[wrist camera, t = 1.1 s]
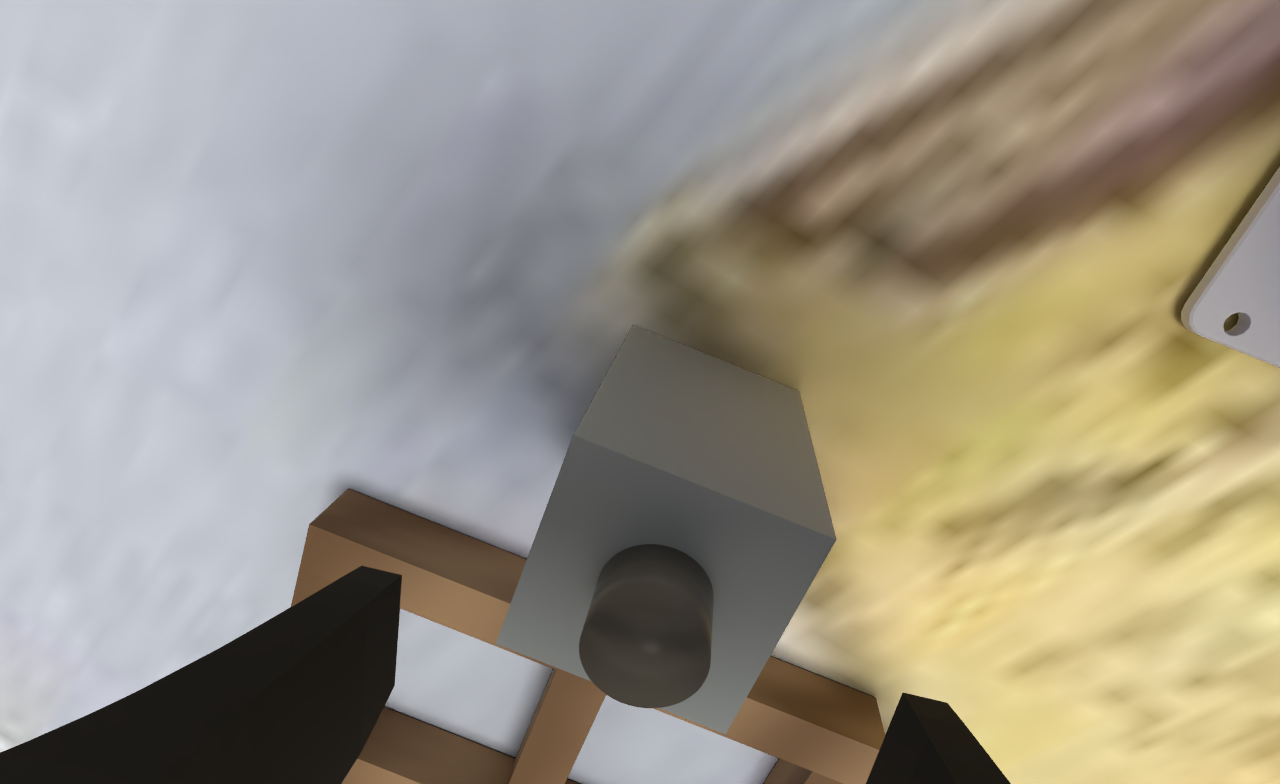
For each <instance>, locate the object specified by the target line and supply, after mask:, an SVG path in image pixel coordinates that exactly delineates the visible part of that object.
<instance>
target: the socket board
mask: <svg viewBox="0 0 1280 784" xmlns="http://www.w3.org/2000/svg"><path fill="white" fill-rule="evenodd" d="M526 561H527V559H524V558H522V557H519V556H517V555H514V554H511V553H509V552H506V551H504V550H501V549H499V548H496V547H494V546H491V545H489V544H486V543H484V542H481V541H479V540H476V539H474V538H471V537H469V536H466V535H464V534H461V533H459V532H456V531H454V530H451V529H449V528H446V527H443V526H441V525H438V524H436V523H433V522H431V521H428V520H426V519H423V518H421V517H418V516H416V515H413V514H411V513H408V512H406V511H403V510H401V509H398V508H396V507H393V506H391V505H388V504H386V503H383V502H380V501H378V500H375V499H373V498H370V497H368V496H365V495H363V494H360V493H358V492H355V491H353V490H350V489H348V490H347V491H345V492H344V493H343V494H342V495H341V496H340V497H339V498H338V499H337V500H336V501H334V502H333V503H332V504H331V505H330V506H329V507H328V508H327V509H326V510H325V511H323V512H322V513H321V514H320V515H319V516H318V517H317V518H316V519H315V520H314V521H312V522H311V523H310V524H309V528H308V533H307V537H306V542H305V546H304V551H303V555H302V560H301V564H300V569H299V573H298V578H297V582H296V587H295V591H294V595H293V600H292V604H291V607H292V606H294V605H295V604H297V603H299V602H300V601H302V600H304V599H306V598H307V597H309V596H311V595H312V594H314V593H316V592H317V591H319V590H321V589H322V588H324V587H326V586H327V585H329V584H331V583H333V582H334V581H336V580H338V579H339V578H341V577H343V576H344V575H346V574H348V573H350V572H351V571H353V570H355V569H357V568H358V567H360V566H366V567H370V568H374V569H379V570H383V571H387V572H391V573H396V574H400V575H402V584H401V598H400V608H401V609H404V610H406V611H409V612H411V613H414V614H416V615H419V616H421V617H424V618H426V619H429V620H431V621H434V622H436V623H439V624H441V625H444V626H446V627H449V628H452V629H454V630H457V631H459V632H462V633H464V634H467V635H469V636H472V637H474V638H477V639H479V640H482V641H484V642H487V643H489V644H492V645H494V646H497V647H500V648H502V649H505V650H507V651H510V652H512V653H515V654H517V655H520V656H522V657H525V658H527V659H530V660H532V661H535V662H537V663H540V664H542V665H545V666H548V667H550V668H553V671H552V673H551V676H550V678H549V681H548V683H547V685H546V688H545V690H544V692H543V695H542V697H541V700H540V702H539V704H538V707H537V709H536V712H535V714H534V716H533V719H532V721H531V723H530V726H529V728H528V731H527V733H526V735H525V738H524V740H523V742H522V745H521V747H520V750H519V752H518V754H517V757H516V759H515V758H512V757H510V756H507V755H505V754H502V753H500V752H497V751H495V750H492V749H489V748H487V747H484V746H482V745H479V744H477V743H474V742H472V741H469V740H467V739H464V738H462V737H459V736H457V735H454V734H451V733H449V732H446V731H444V730H441V729H439V728H436V727H434V726H431V725H429V724H426V723H424V722H421V721H419V720H416V719H413V718H411V717H408V716H406V715H403V714H401V713H398V712H396V711H393V710H391V709H388V708H386V707H384V708H383V710H382V712H381V714H380V716H379V718H378V720H377V722H376V724H375V726H374V728H373V730H372V732H371V734H370V736H369V738H368V740H367V742H366V744H365V746H364V748H363V750H362V752H361V754H360V755H359V757H358V758H357V760H356V761H355V763H354V765H353V766H352V768H351V769H350V771H349V773H348V774H347V776H346V777H345V779H344V780H343V782H342V783H341V784H578V783H576V782H573V781H571V780H568V779H567V778H568V775H569V773H570V771H571V769H572V767H573V765H574V763H575V760H576V758H577V756H578V754H579V752H580V750H581V748H582V745H583V743H584V741H585V739H586V737H587V735H588V733H589V730H590V728H591V726H592V724H593V722H594V720H595V717H596V715H597V713H598V711H599V709H600V707H601V705H602V702H603V700H604V698H605V696H606V694H605V693H604V692H602V691H601V690H600V689H599V688H598V687H597V686H596V685H594V683H593V682H592V681H589V680H586V679H584V678H581V677H579V676H576V675H574V674H571V673H569V672H566V671H564V670H561V669H559V668H556V667H554V666H551V665H548V664H546V663H543V662H541V661H538V660H536V659H533V658H531V657H528V656H526V655H523V654H521V653H518V652H515V651H513V650H510V649H508V648H505V647H503V646H500V645H498V644H496V641H497V639H498V636H499V633H500V631H501V628H502V625H503V623H504V620H505V617H506V614H507V612H508V609H509V606H510V604H511V601H512V598H513V596H514V593H515V590H516V588H517V585H518V582H519V580H520V577H521V574H522V571H523V569H524V566H525V563H526ZM654 709H656V710H659V711H661V712H664V713H666V714H669V715H671V716H674V717H676V718H679V719H681V720H684V721H686V722H689V723H691V724H694V725H697V726H699V727H702V728H704V729H707V730H709V731H712V732H714V733H717V734H719V735H722V736H724V737H727V738H729V739H732V740H734V741H737V742H739V743H742V744H745V745H747V746H750V747H752V748H755V749H757V750H760V751H762V752H765V753H767V754H770V755H772V756H775V757H777V758H779V759H778V761H777V763H776V764H775V766H774V767H773V769H772V771H771V772H770V774H769V776H768V777H767V779H766V780H765V782H764V784H866V782H867V779H868V777H869V775H870V772H871V770H872V767H873V765H874V762H875V760H876V757H877V755H878V752H879V750H880V747H881V745H882V743H883V740H884V738H885V733H884V729H883V725H882V721H881V717H880V713H879V709H878V705H877V700H876V698H874V697H872V696H869V695H867V694H864V693H862V692H859V691H857V690H854V689H852V688H849V687H847V686H844V685H842V684H839V683H836V682H834V681H831V680H829V679H826V678H824V677H821V676H819V675H816V674H814V673H811V672H809V671H806V670H804V669H801V668H799V667H796V666H794V665H791V664H789V663H786V662H784V661H781V660H779V659H776V658H774V657H771V656H770V657H769V659H768V660H767V662H766V664H765V666H764V667H763V669H762V671H761V673H760V675H759V676H758V678H757V680H756V682H755V683H754V685H753V687H752V689H751V690H750V692H749V694H748V696H747V697H746V699H745V701H744V703H743V704H742V706H741V708H740V710H739V711H738V713H737V715H736V717H735V718H734V720H733V722H732V724H731V726H730V727H729V729H728V731H727V733H726V734H723V733H721V732H718V731H716V730H713V729H711V728H708V727H706V726H703V725H701V724H698V723H695V722H693V721H690V720H688V719H685V718H683V717H680V716H678V715H675V714H673V713H670V712H668V711H665V710H662V709H660V708H654Z"/></svg>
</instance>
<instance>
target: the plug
mask: <svg viewBox="0 0 1280 784" xmlns="http://www.w3.org/2000/svg"><path fill="white" fill-rule="evenodd" d="M835 541H836V536H835V532H834V528H833V524H832V520H831V516H830V512H829V508H828V504H827V500H826V496H825V492H824V488H823V484H822V480H821V476H820V472H819V468H818V464H817V460H816V456H815V452H814V448H813V444H812V440H811V436H810V432H809V428H808V424H807V420H806V416H805V412H804V408H803V404H802V400H801V396H800V392H799V391H798V390H795V389H793V388H790V387H788V386H785V385H783V384H780V383H778V382H775V381H773V380H770V379H768V378H765V377H763V376H760V375H758V374H755V373H753V372H750V371H748V370H745V369H743V368H740V367H738V366H735V365H733V364H730V363H728V362H725V361H723V360H720V359H718V358H715V357H713V356H710V355H708V354H705V353H703V352H700V351H698V350H695V349H693V348H690V347H688V346H685V345H683V344H680V343H678V342H675V341H673V340H670V339H668V338H665V337H663V336H660V335H658V334H655V333H653V332H650V331H648V330H645V329H643V328H640V327H638V326H635V325H633V326H632V328H631V330H630V331H629V333H628V335H627V337H626V339H625V341H624V343H623V344H622V346H621V348H620V350H619V352H618V354H617V355H616V357H615V359H614V361H613V363H612V365H611V366H610V368H609V370H608V372H607V374H606V376H605V378H604V379H603V381H602V383H601V385H600V387H599V389H598V390H597V392H596V394H595V396H594V398H593V400H592V401H591V403H590V405H589V407H588V409H587V411H586V413H585V414H584V416H583V418H582V420H581V422H580V424H579V425H578V427H577V429H576V431H575V433H574V435H573V437H572V440H571V443H570V445H569V448H568V451H567V453H566V456H565V459H564V461H563V464H562V467H561V469H560V472H559V475H558V477H557V480H556V483H555V486H554V488H553V491H552V494H551V496H550V499H549V502H548V504H547V507H546V510H545V512H544V515H543V518H542V520H541V523H540V526H539V529H538V531H537V534H536V537H535V539H534V542H533V545H532V547H531V550H530V553H529V555H528V558H527V561H526V563H525V566H524V569H523V571H522V574H521V577H520V580H519V582H518V585H517V588H516V590H515V593H514V596H513V598H512V601H511V604H510V606H509V609H508V612H507V614H506V617H505V620H504V623H503V625H502V628H501V631H500V633H499V636H498V639H497V641H496V644H498V645H500V646H503V647H505V648H508V649H510V650H513V651H515V652H518V653H521V654H523V655H526V656H528V657H531V658H533V659H536V660H538V661H541V662H543V663H546V664H548V665H551V666H554V667H556V668H559V669H561V670H564V671H566V672H569V673H571V674H574V675H576V676H579V677H581V678H584V679H586V680H589V681H592V682H593V683H594V685H596V686H597V687H598V688H599V689H600V690H601V691H602V692H604V693H605V694H606V695H608V696H610V697H611V698H613V699H615V700H617V701H619V702H622V703H625V704H628V705H631V706H636V707H642V708H660V709H662V710H665V711H668V712H670V713H673V714H675V715H678V716H680V717H683V718H685V719H688V720H690V721H693V722H695V723H698V724H701V725H703V726H706V727H708V728H711V729H713V730H716V731H718V732H721V733H723V734H726V733H727V731H728V729H729V727H730V726H731V724H732V722H733V720H734V718H735V717H736V715H737V713H738V711H739V710H740V708H741V706H742V704H743V703H744V701H745V699H746V697H747V696H748V694H749V692H750V690H751V689H752V687H753V685H754V683H755V682H756V680H757V678H758V676H759V675H760V673H761V671H762V669H763V667H764V666H765V664H766V662H767V660H768V659H769V657H770V655H771V653H772V652H773V650H774V648H775V646H776V645H777V643H778V641H779V639H780V638H781V636H782V634H783V632H784V631H785V629H786V627H787V625H788V624H789V622H790V620H791V618H792V617H793V615H794V613H795V611H796V609H797V608H798V606H799V604H800V602H801V601H802V599H803V597H804V595H805V594H806V592H807V590H808V588H809V587H810V585H811V583H812V581H813V580H814V578H815V576H816V574H817V573H818V571H819V569H820V567H821V566H822V564H823V562H824V560H825V558H826V557H827V555H828V553H829V551H830V550H831V548H832V546H833V544H834V543H835Z"/></svg>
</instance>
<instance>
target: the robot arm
mask: <svg viewBox="0 0 1280 784" xmlns="http://www.w3.org/2000/svg"><path fill="white" fill-rule="evenodd" d="M1235 313H1238V316H1239V319H1238V322H1237V324H1236V325H1235V326H1234V327H1233V328H1232V329H1230V330H1227V331H1224V327H1223V325H1224V323H1225V320H1226V319H1227V318H1228V317H1229V316H1230V315H1232V314H1235ZM1181 321H1182V323H1183V325H1184V327H1185V328H1186V329H1188V330H1189V331H1191V332H1192V333H1195V334H1197V335H1199V336H1202V337H1204V338H1207V339H1209V340H1212V341H1214V342H1217V343H1219V344H1222V345H1224V346H1227V347H1229V348H1232V349H1234V350H1237V351H1239V352H1242V353H1244V354H1247V355H1249V356H1251V357H1254V358H1256V359H1259V360H1261V361H1264V362H1266V363H1269V364H1271V365H1274V366H1276V367H1279V368H1280V167H1279V168H1278V170H1277V171H1276V172H1275V174H1274V175H1273V177H1272V178H1271V180H1270V181H1269V183H1268V184H1267V185H1266V187H1265V188H1264V190H1263V191H1262V193H1261V194H1260V196H1259V197H1258V198H1257V200H1256V201H1255V203H1254V204H1253V206H1252V207H1251V209H1250V210H1249V212H1248V213H1247V214H1246V216H1245V217H1244V219H1243V220H1242V222H1241V223H1240V225H1239V226H1238V227H1237V229H1236V230H1235V232H1234V233H1233V235H1232V236H1231V238H1230V239H1229V241H1228V242H1227V243H1226V245H1225V246H1224V248H1223V249H1222V251H1221V252H1220V254H1219V255H1218V256H1217V258H1216V259H1215V261H1214V262H1213V264H1212V265H1211V267H1210V268H1209V269H1208V271H1207V272H1206V274H1205V275H1204V277H1203V278H1202V280H1201V281H1200V283H1199V284H1198V285H1197V287H1196V288H1195V290H1194V291H1193V293H1192V294H1191V296H1190V297H1189V298H1188V300H1187V301H1186V303H1185V305H1184V307H1183V309H1182V311H1181ZM401 584H402V575H400V574H396V573H391V572H387V571H383V570H379V569H374V568H370V567H366V566H360V567H358V568H357V569H355V570H353V571H351V572H350V573H348V574H346V575H344V576H343V577H341V578H339V579H338V580H336V581H334V582H333V583H331V584H329V585H327V586H326V587H324V588H322V589H321V590H319V591H317V592H316V593H314V594H312V595H311V596H309V597H307V598H306V599H304V600H302V601H300V602H299V603H297V604H295V605H294V606H292V607H290V608H289V609H287V610H285V611H284V612H282V613H280V614H279V615H277V616H275V617H273V618H272V619H270V620H268V621H267V622H265V623H263V624H261V625H260V626H258V627H256V628H254V629H253V630H251V631H249V632H247V633H246V634H244V635H242V636H240V637H239V638H237V639H235V640H233V641H232V642H230V643H228V644H226V645H224V646H223V647H221V648H219V649H217V650H215V651H214V652H212V653H210V654H208V655H206V656H204V657H202V658H200V659H198V660H196V661H194V662H193V663H191V664H189V665H187V666H185V667H183V668H181V669H179V670H177V671H175V672H173V673H172V674H170V675H168V676H166V677H164V678H162V679H160V680H158V681H156V682H154V683H152V684H151V685H149V686H147V687H145V688H143V689H141V690H139V691H137V692H135V693H133V694H131V695H129V696H127V697H125V698H123V699H121V700H119V701H116V702H114V703H112V704H110V705H108V706H106V707H104V708H102V709H99V710H97V711H95V712H93V713H91V714H89V715H87V716H84V717H82V718H80V719H78V720H75V721H73V722H71V723H68V724H66V725H64V726H62V727H59V728H57V729H55V730H53V731H50V732H48V733H46V734H44V735H41V736H39V737H37V738H34V739H32V740H30V741H27V742H25V743H23V744H20V745H18V746H16V747H13V748H11V749H8V750H6V751H3V752H1V753H0V784H341V783H342V782H343V780H344V779H345V777H346V776H347V774H348V773H349V771H350V769H351V768H352V766H353V765H354V763H355V761H356V760H357V758H358V757H359V755H360V754H361V752H362V750H363V748H364V746H365V744H366V742H367V740H368V738H369V736H370V734H371V732H372V730H373V728H374V726H375V724H376V722H377V720H378V718H379V716H380V714H381V712H382V710H383V708H384V706H385V704H386V702H387V700H388V698H389V696H390V693H391V691H392V689H393V687H394V684H395V670H396V656H397V641H398V627H399V612H400V598H401ZM866 784H1011V783H1010V782H1009V781H1008V780H1007V778H1006V777H1005V776H1004V774H1003V773H1002V772H1001V771H1000V769H999V768H998V767H997V765H996V764H995V763H994V762H993V760H992V759H991V758H990V756H989V755H988V754H987V752H986V751H985V750H984V749H983V747H982V746H981V745H980V743H979V742H978V741H977V740H976V738H975V737H974V736H973V734H972V733H971V732H970V731H969V729H968V728H967V727H966V725H965V724H964V723H963V722H962V720H961V719H960V718H959V717H958V715H957V714H956V713H955V712H954V711H953V709H952V708H951V707H950V706H949V705H948V703H945V702H941V701H937V700H932V699H928V698H924V697H920V696H915V695H911V694H907V693H902V696H901V698H900V701H899V703H898V706H897V708H896V710H895V713H894V715H893V718H892V720H891V723H890V725H889V728H888V730H887V733H886V735H885V738H884V740H883V743H882V745H881V747H880V750H879V752H878V755H877V757H876V760H875V762H874V765H873V767H872V770H871V772H870V775H869V777H868V779H867V782H866Z"/></svg>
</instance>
